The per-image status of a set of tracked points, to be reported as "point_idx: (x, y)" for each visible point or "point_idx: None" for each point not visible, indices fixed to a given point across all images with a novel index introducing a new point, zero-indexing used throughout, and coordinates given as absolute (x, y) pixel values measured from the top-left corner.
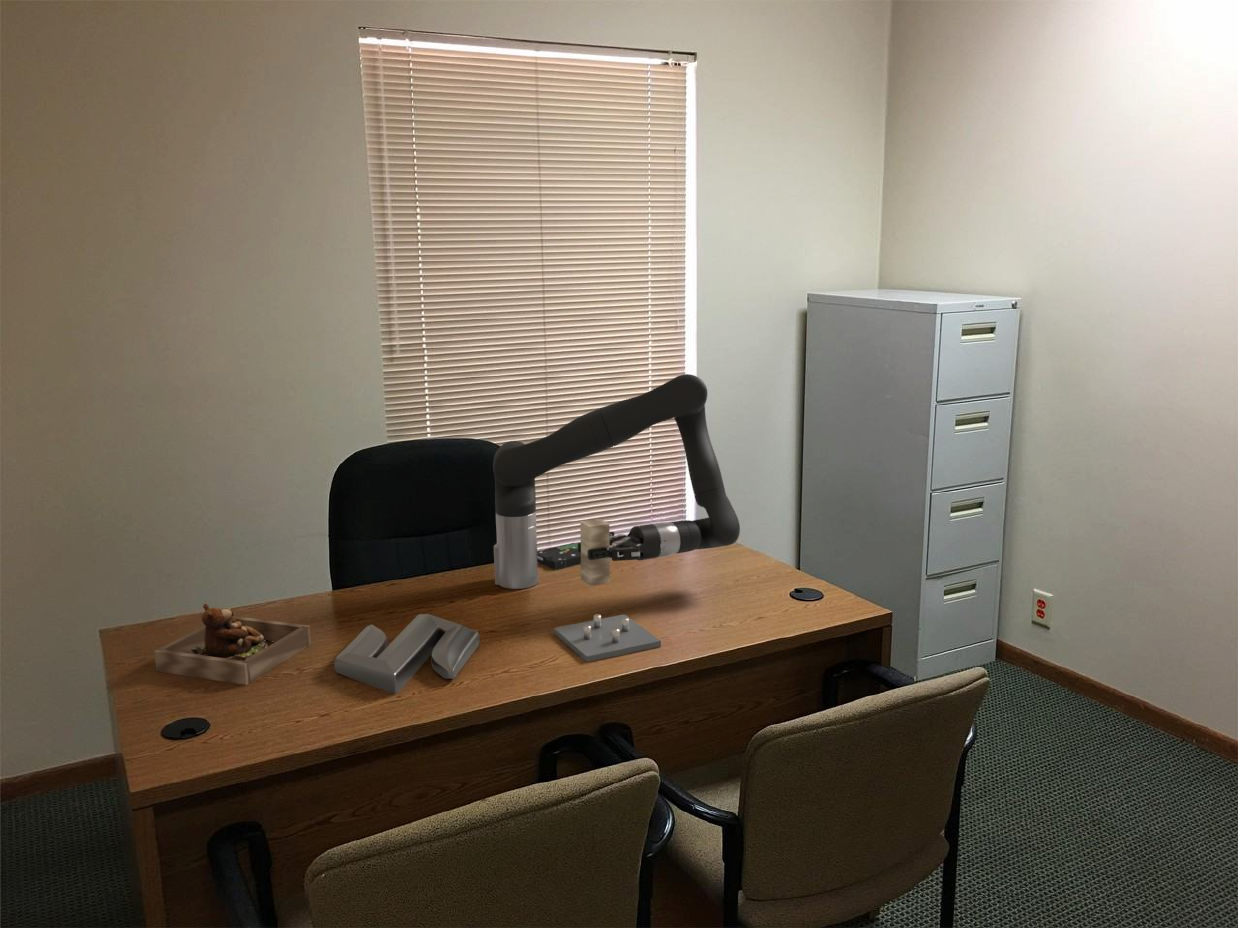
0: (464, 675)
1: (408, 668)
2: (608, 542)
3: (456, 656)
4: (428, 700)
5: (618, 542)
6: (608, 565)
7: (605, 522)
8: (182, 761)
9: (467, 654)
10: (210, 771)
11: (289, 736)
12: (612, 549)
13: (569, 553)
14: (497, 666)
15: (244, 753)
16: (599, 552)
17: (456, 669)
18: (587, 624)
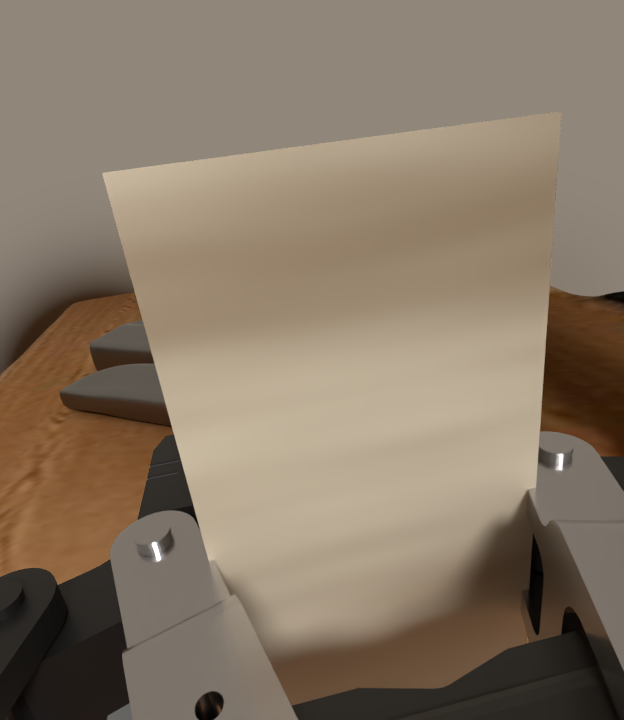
0: (84, 423)
1: (125, 357)
2: (194, 503)
3: (101, 386)
4: (38, 396)
5: (170, 696)
6: None
7: (254, 153)
8: (99, 305)
9: (127, 406)
10: (62, 315)
11: (78, 332)
12: (17, 574)
13: None
14: (74, 462)
15: (74, 321)
16: (148, 487)
17: (72, 398)
18: (125, 717)
